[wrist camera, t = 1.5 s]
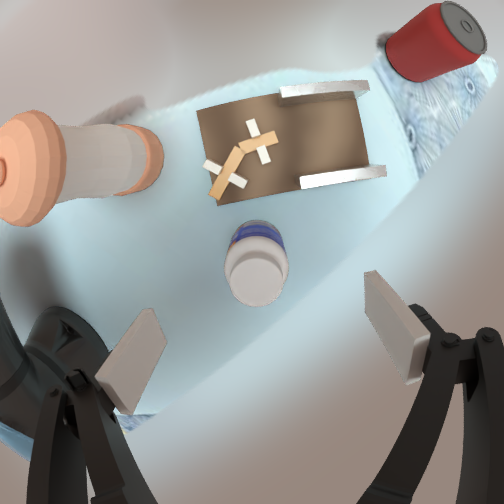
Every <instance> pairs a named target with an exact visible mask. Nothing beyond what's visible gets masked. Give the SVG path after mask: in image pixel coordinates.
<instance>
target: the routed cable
mask: <svg viewBox="0 0 504 504" xmlns="http://www.w3.org/2000/svg"><path fill="white" fill-rule="evenodd" d="M246 124H247V126H248V129H249V132H250V134H251V137H252V138H251V139H248V140H245V141H242V142H239V143H238V144H239V146H240V148H238V147H236V146H234V148H233V150H232V152H231V153H230V155H229V157H228V159H227V161H226V162H225V164H224V166H223V165H221V164H219V163H217V162H215V161H213V160H211V159H206V161H205V163H204V165H203V166H202V167H203V168H205V169H207V170H209V171H211V172H213V173H215V174H217V175H218V177H217V179H216V181H215V182H214V184H213V186H212V188H211V190H210V192H209V194H208V195H210V196H212V197H213V198H215V199H217V200H220V199H221V197H222V195H223V194H224V192H225V190H226V188H227V186H228V184H229V183H230V182H232V183H233V184H235V185H237V186H239V187H241V188H244V187H245V185H246V184H247V182H248V180H249V179H247V178H245V177H243V176H241V175H240V174H238V173H236V170H237V168H238V167H239V165H240V163H241V161H242V160H243V158H244V156H245V154H247V153H250V152H253V151H256V150H257V152H258V154H259V157H260V160H261V162H262V164H265V163H268V162H271V160H270V158H269V155H268V152H267V150H266V147H268V146H271V145H274V144H277V143H278V139H277V137H276V134H275V131H271V132H268V133H265V134H262V135H260V132H259V129H258V127H257V124H256V122H255V119H251V120H248V121H246Z"/></svg>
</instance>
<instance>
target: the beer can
mask: <svg viewBox="0 0 504 504" xmlns="http://www.w3.org/2000/svg"><path fill="white" fill-rule="evenodd" d="M486 51H487V41H486V37H485V34H484V32H483V30H482V28H481V26H480V25H479V23H478V22H477V21H476V19H475V18H474V17H473V16H472V15H471V14H470V13H469V12H468V11H467V10H466V9H464V8H463V7H462V6H460V5H459V4H456V3H454V2H452V1H445V2H443V3H435V4H432V5H430V6H428V7H427V8H425V9H424V10H423V11H421V12H420V13H419V14H418V15H417V16H415V17H414V18H413V19H411V20H410V21H409V22H408V23H407V24H405V25H404V26H403V27H402V28H401V29H399V30H398V31H397V32H396V33H395V34H394V35H392V36H391V37H390V38H389V39H388V41H387V43H386V53H387V56H388V59H389V61H390V62H391V64H392V66H393V67H394V68H395V69H396V70H397V71H398V72H399V73H400V74H401V75H402V76H404V77H405V78H407V79H409V80H412V81H414V82H423V81H426V80H429V79H431V78H434V77H437V76H439V75H442V74H444V73H447V72H450V71H452V70H455V69H458V68H461V67H464V66H467V65H470V64H472V63H474V62H475V61H477V59H478V58H479V57H480V56H481V54H484V53H485V52H486Z"/></svg>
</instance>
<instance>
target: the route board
mask: <svg viewBox="0 0 504 504" xmlns="http://www.w3.org/2000/svg"><path fill="white" fill-rule="evenodd" d="M277 97H278V93H275V94H269V95H264V96H258V97H253V98H248V99H243V100H238V101H234V102H229V103H225V104H221V105H217V106H213V107H209V108H205V109H201V110H198V111H196V112H197V117H198V121H199V126H200V131H201V135H202V140H203V144H204V149H205V154H206V158H207V159H211V160H213V161H215V162H217V163H219V164H221V165H223V166H224V164H225V162H226V161H227V159H228V157H229V155H230V153H231V152H232V150H233V148H234V146H236V147H238V148H240V146H239V144H238V143H239V142H242V141H245V140H248V139H251V138H252V137H251V134H250V132H249V129H248V126H247V124H246V121H248V120H251V119H255V122H256V124H257V127H258V129H259V132H260V135H262V134H265V133H268V132H271V131H275V134H276V137H277V139H278V143H277V144H274V145H271V146H268V147H266V150H267V152H268V155H269V158H270V160H271V162H268V163H265V164H262V162H261V160H260V157H259V154H258V152H257V150H256V151H253V152H250V153H247V154H245V156H244V158H243V160H242V161H241V163H240V165H239V167H238V168H237V170H236V173H238V174H240V175H241V176H243V177H245V178H247V179H249V180H248V182H247V184H246V185H245V187H244V188H241V187H239V186H237V185H235V184H233V183H232V182H230V183H229V184H228V186H227V188H226V190H225V192H224V194H223V195H222V197H221V199H220V200H217V199H216V202H217V206H219V205H224V204H229V203H233V202H238V201H243V200H248V199H253V198H258V197H263V196H268V195H273V194H278V193H284V192H289V191H295V190H300V189H301V188H300V187H298V186H297V185H296V182H295V177H294V175H298V174H304V173H310V172H317V171H323V170H330V169H337V168H344V167H351V166H359V165H367V164H369V161H368V155H367V149H366V143H365V138H364V133H363V128H362V123H361V119H360V114H359V110H358V106H357V102H356V99H348V100H334V101H323V102H313V103H305V104H297V105H290V106H283V107H279V103H278V99H277ZM210 176H211V180H212V184H214V182H215V181H216V179H217V177H218V175H217V174H215V173H213V172H211V171H210ZM369 179H371V178H369ZM362 180H364V179H362ZM355 181H357V180H355ZM348 182H350V181H348ZM341 183H343V182H341ZM335 184H337V183H335ZM329 185H331V184H329ZM322 186H324V185H322ZM316 187H318V186H316ZM310 188H312V187H310ZM304 189H306V188H304Z"/></svg>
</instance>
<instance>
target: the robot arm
mask: <svg viewBox="0 0 504 504" xmlns="http://www.w3.org/2000/svg"><path fill="white" fill-rule="evenodd" d="M364 286H365V313H366V315H367V316H368V318H369V320H370V322H371V323H372V325H373V327H374V328H375V330H376V332H377V334H378V335H379V337H380V339H381V341H382V342H383V344H384V346H385V348H386V350H387V351H388V353H389V355H390V357H391V359H392V360H393V362H394V364H395V366H396V368H397V370H398V372H399V373H400V375H401V377H402V379H403V381H404V383H405V385H408V384H411V383H414V382H417V381H419V380H420V378H421V375H422V371H423V373H424V378H423V380H422V384H421V386H420V389H419V391H418V394H417V397H416V399H415V401H414V404H413V406H412V408H411V411H410V413H409V415H408V418H407V420H406V422H405V424H404V426H403V428H402V430H401V432H400V435H399V437H398V439H397V440H396V442H395V444H394V446H393V448H392V450H391V452H390V454H389V455H388V457H387V459H386V461H385V463H384V464H383V466H382V468H381V469H380V471H379V473H378V474H377V476H376V477H375V479H374V480H373V482H372V483H371V485H370V486H369V487H368V488H367V490H366V491H365V492H364V494H363V495H362V497H361V498H360V499H359V501H358V502H357V503H356V504H410V503H411V501H412V496H413V494H414V492H415V490H416V488H417V486H418V484H419V482H420V480H421V478H422V476H423V474H424V472H425V470H426V468H427V465H428V463H429V461H430V458H431V456H432V453H433V451H434V448H435V446H436V443H437V441H438V438H439V435H440V432H441V429H442V427H443V424H444V421H445V418H446V414H447V411H448V408H449V404H450V400H451V397H452V393H453V389H454V385H455V384H460V383H462V384H463V400H464V440H463V456H462V467H461V475H460V482H459V489H458V494H457V500H456V504H504V346H503V343H502V340H501V337H500V334H499V333H498V332H497V331H496V330H495V329H493V328H488V327H485V328H481V329H480V330H478V332H477V334H476V337H475V338H472V339H465V340H461V338H460V337H459V336H458V335H456V334H454V333H446V332H445V331H444V330H443V329H442V328H441V327H440V326H439V324H438V323H437V322H436V321H435V320H434V319H432V317H431V316H430V315H429V314H428V312H427V311H426V310H425V309H424V308H423V307H421V306H419V305H417V304H413V305H409V306H407V305H406V304H405V302H404V301H403V300H402V299H401V298H400V297H399V296H398V294H397V293H396V292H395V291H394V290H393V289H392V288H391V286H390V285H389V284H388V283H387V282H386V281H385V280H384V279H383V278H382V277H381V275H380V274H379V273H378V272H377V271H376V270H375V271H370V272H365V273H364ZM0 295H1V294H0ZM166 344H167V341H166V339H165V336H164V334H163V332H162V329H161V327H160V325H159V322H158V320H157V318H156V315H155V313H154V310H153V308H150V309H143V310H142V311H141V313H140V314H139V315H138V317H137V318H136V319H135V321H134V322H133V323H132V325H131V326H130V327H129V329H128V330H127V331H126V333H125V334H124V335H123V337H122V338H121V340H120V341H119V342H118V344H117V345H116V347H115V348H114V349H113V350H111V351H110V352H109V353H108V351H107V349H106V347H105V345H104V343H103V342H102V340H101V339H100V337H99V336H98V335H97V333H96V332H95V331H94V330H93V329H92V328H91V327H90V325H88V324H87V323H86V322H85V321H84V320H83V319H82V318H80V317H79V316H78V315H76V314H75V313H73V312H71V311H69V310H67V309H65V308H61V307H50V308H48V309H47V310H45V311H44V312H43V313H42V314H41V315H40V316H39V317H38V318H37V320H36V322H35V324H34V326H33V328H32V330H31V332H30V335H29V337H28V339H27V341H26V344H25V345H24V346H22V344H21V342H20V340H19V338H18V336H17V334H16V332H15V330H14V328H13V326H12V324H11V322H10V319H9V317H8V315H7V313H6V310H5V308H4V305H3V303H2V300H1V298H0V441H1V442H2V443H3V444H5V445H6V446H7V447H8V448H10V449H11V450H12V451H14V452H15V453H17V454H18V455H20V456H21V457H23V458H24V459H26V460H27V461H30V468H29V476H28V486H27V501H26V504H88V495H87V476H86V466H87V469H88V473H89V476H90V479H91V482H92V486H93V489H94V492H95V497H92V498H91V500H90V501H91V504H158V503H157V501H156V500H155V498H154V496H153V494H152V493H151V491H150V489H149V487H148V485H147V484H146V482H145V480H144V478H143V476H142V474H141V472H140V470H139V468H138V466H137V464H136V462H135V460H134V458H133V455H132V453H131V451H130V449H129V447H128V444H127V442H126V440H125V437H124V435H123V432H122V430H121V427H120V425H119V422H118V419H117V417H116V415H115V413H114V412H113V410H114V408H115V407H116V408H117V409H118V411H119V412H120V413H121V414H126V415H133V413H134V411H135V408H136V406H137V404H138V402H139V400H140V398H141V396H142V393H143V391H144V389H145V387H146V385H147V383H148V381H149V379H150V377H151V375H152V372H153V370H154V368H155V366H156V364H157V362H158V360H159V358H160V356H161V354H162V352H163V350H164V348H165V346H166Z"/></svg>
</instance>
